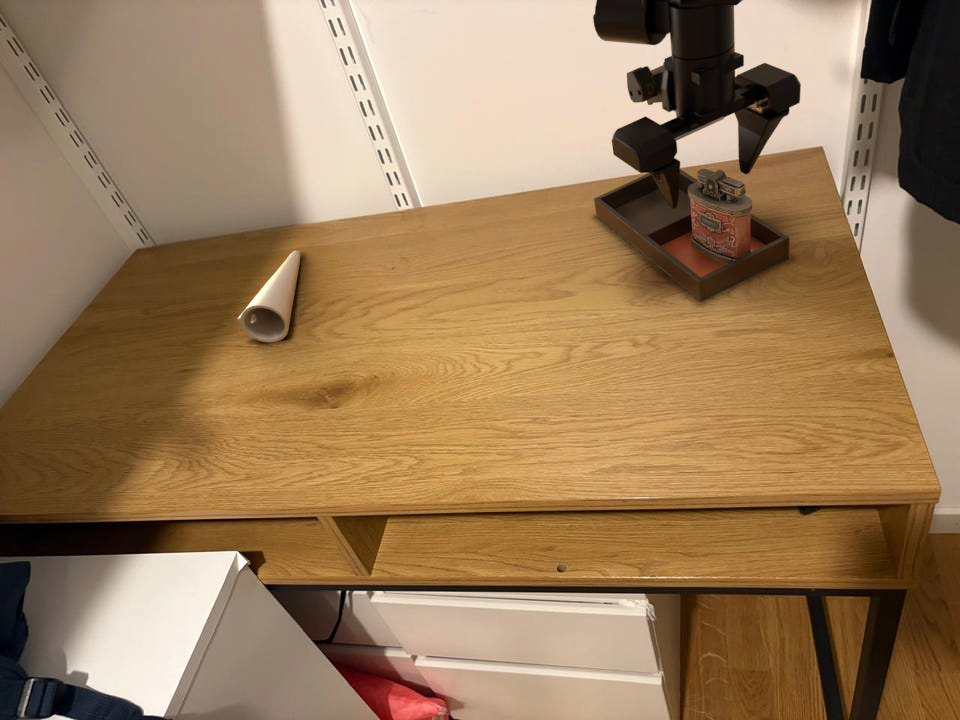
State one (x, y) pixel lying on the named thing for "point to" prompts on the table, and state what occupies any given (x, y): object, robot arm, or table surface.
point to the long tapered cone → (273, 304)
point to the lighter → (720, 216)
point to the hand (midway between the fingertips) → (708, 189)
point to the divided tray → (683, 237)
